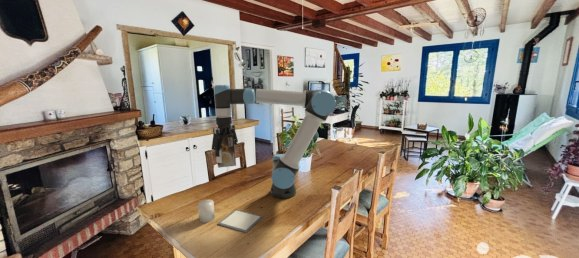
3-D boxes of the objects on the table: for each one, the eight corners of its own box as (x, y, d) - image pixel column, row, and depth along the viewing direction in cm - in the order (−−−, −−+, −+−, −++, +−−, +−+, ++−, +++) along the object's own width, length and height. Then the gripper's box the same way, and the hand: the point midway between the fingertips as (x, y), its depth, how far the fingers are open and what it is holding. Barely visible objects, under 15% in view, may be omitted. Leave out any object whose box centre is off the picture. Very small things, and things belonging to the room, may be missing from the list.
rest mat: (236, 210, 126) (236, 209, 125) (263, 217, 119) (263, 216, 119) (217, 224, 113) (217, 223, 113) (246, 233, 106) (246, 231, 106)
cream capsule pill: (206, 213, 123) (205, 198, 121) (217, 216, 120) (216, 201, 118) (196, 220, 117) (194, 204, 115) (207, 223, 114) (206, 208, 112)
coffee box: (235, 162, 131) (233, 132, 128) (236, 166, 125) (234, 135, 122) (217, 164, 129) (215, 133, 126) (217, 168, 123) (215, 136, 120)
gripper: (231, 113, 134) (234, 152, 138) (200, 119, 114) (204, 165, 118) (243, 114, 131) (245, 154, 135) (213, 120, 111) (217, 167, 115)
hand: (226, 159), depth 126 cm, fingers closed on coffee box, 10 cm apart
